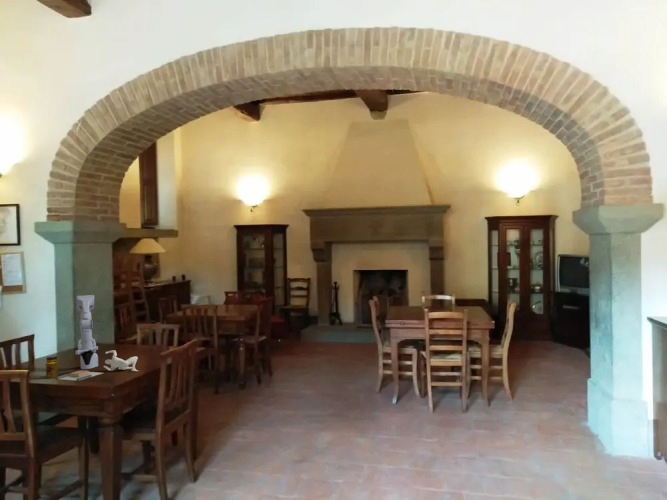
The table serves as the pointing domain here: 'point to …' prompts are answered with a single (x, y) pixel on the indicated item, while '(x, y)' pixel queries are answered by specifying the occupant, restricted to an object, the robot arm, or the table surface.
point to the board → (68, 377)
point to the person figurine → (120, 362)
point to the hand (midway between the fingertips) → (87, 364)
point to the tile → (79, 373)
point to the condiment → (52, 367)
